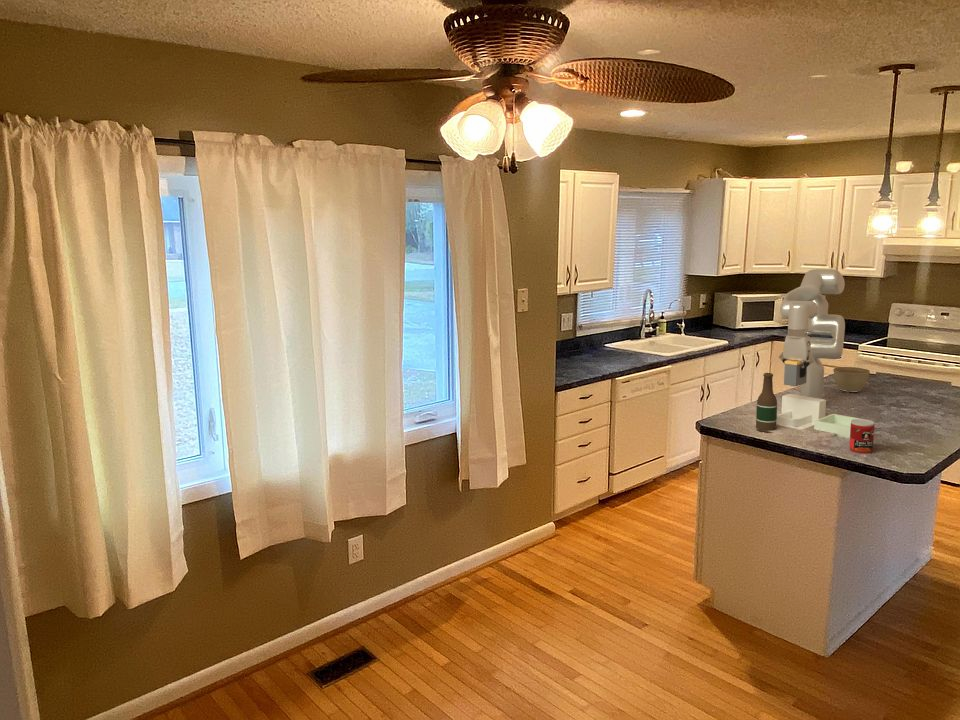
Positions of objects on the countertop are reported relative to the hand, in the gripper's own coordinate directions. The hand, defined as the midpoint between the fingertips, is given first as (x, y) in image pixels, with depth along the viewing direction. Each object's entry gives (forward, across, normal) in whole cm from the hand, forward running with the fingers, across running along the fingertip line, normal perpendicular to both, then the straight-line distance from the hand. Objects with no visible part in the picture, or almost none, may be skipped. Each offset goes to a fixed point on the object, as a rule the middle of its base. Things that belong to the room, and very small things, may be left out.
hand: (795, 375), depth 286 cm
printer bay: (+21, 0, -1) cm, 21 cm away
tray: (+21, -18, -3) cm, 28 cm away
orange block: (+3, 0, 0) cm, 3 cm away
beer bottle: (+21, +3, +17) cm, 27 cm away
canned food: (+21, -34, +17) cm, 43 cm away
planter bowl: (+22, +10, -77) cm, 81 cm away
